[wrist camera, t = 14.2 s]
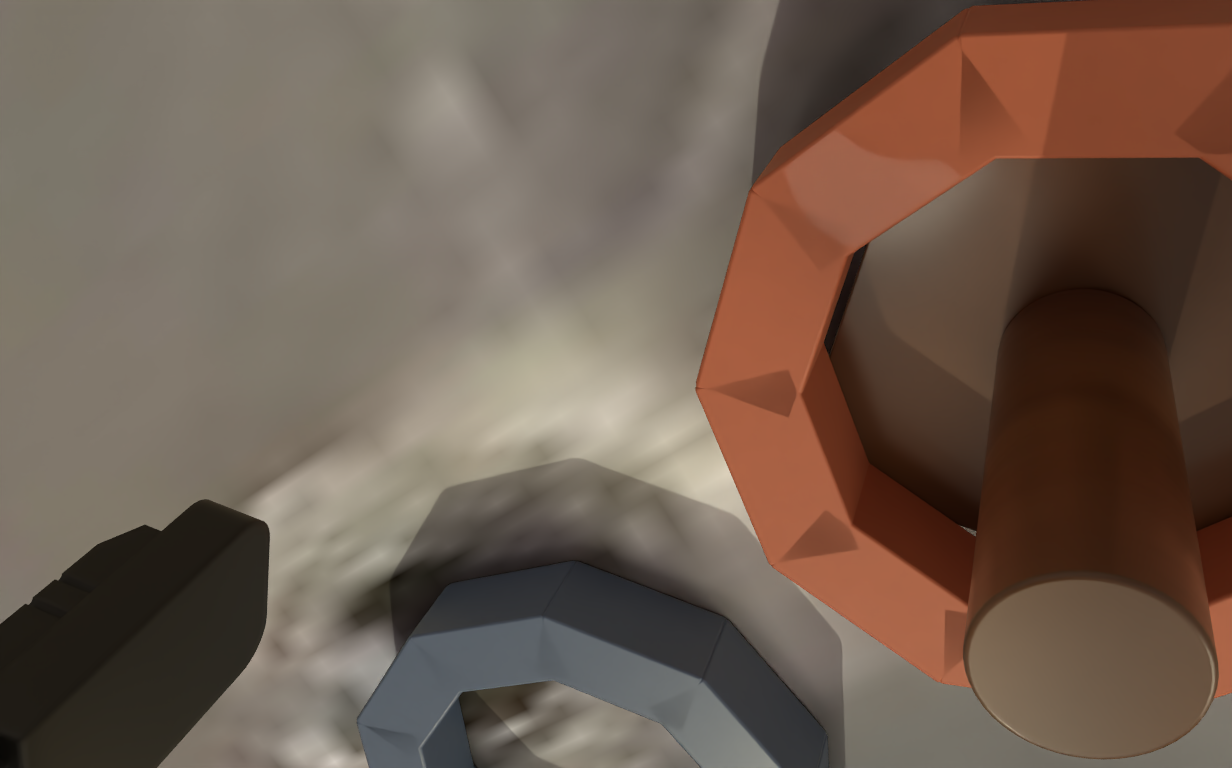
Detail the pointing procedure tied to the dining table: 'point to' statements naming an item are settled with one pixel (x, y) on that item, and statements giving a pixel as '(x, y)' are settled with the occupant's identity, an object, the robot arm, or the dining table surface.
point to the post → (1063, 428)
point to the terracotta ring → (878, 200)
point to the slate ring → (586, 670)
